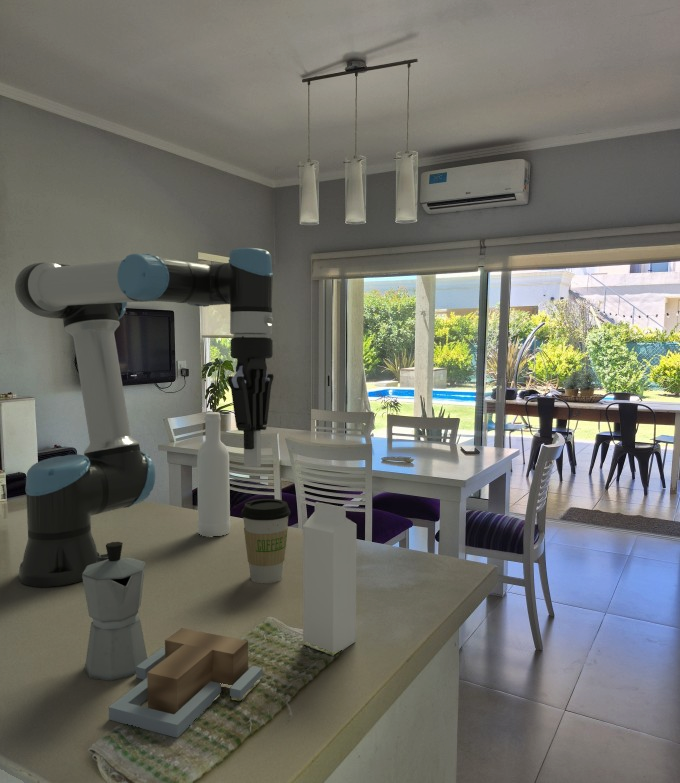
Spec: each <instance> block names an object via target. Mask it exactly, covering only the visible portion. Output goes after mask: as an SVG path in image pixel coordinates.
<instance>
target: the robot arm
mask: <svg viewBox="0 0 680 783" xmlns="http://www.w3.org/2000/svg"><path fill="white" fill-rule="evenodd" d="M272 261H273V260H272V255H271V253H270V252H269V251H268V250H266V249H262V248H255V247H240V248H235V249H232V250H230V253H229V259H228V262H226V263H215V264H211V263H202V262H196V261H195V262H194V261H188V260H181V259H173V258H170V257H169V258H168V257H163V256H156V255H154V254H152V253H130V254H128V255H126V257H125V258H124V259H118V260H111V261H110V260H109V261H101V262H100V261H98V262H91V263H90V262H89V263H81V264H73V265H71V264H63V263H55V262H35V263H32V264H29V265H27V266H25V267H23V269H21V270H20V271H19V273H18V275H17V277H16V280H15V282H14V283H15V284H14V292H15V295H16V298H17V300H18V301H19V303H20V305H21V306H22V307H23V308H24V309H26V310H27V311H29V312H30V313H32V314H34V315H36V316H39V317H43V318H47V319H48V318H49V319H62V322H63V329H64V331H65V332H66V333H67V334H69V335H70V336H72V337H73V344H74V350H75V357H76V363H77V369H78V370H77V371H78V376H79V382H80V388H81V394H82V395H81V396H82V401H83V407H84V414H85V421H86V426H87V427H86V428H87V434H88V439H89V444H88V445H87V448H86V449H85V450H84V452H83V454H67V455H63V456H62V455H59V456H54V457H53V456H52V457H49V458H45V459H42V460H40V461H38V462H36V463H34V464H32V465H31V466H30V467H29V469H27V472H26V478H25V479H26V480H25V487H24V488H25V489H24V490H25V493H26V518H27V519H26V520H27V542H26V545H25V546H26V547H25V549H24V554H23V558H22V562H21V563H20V565H19V569H18V572H19V574H18V575H19V576H18V577H19V582H21V584H24V585H26V586H31V587H39V588H41V587H42V588H45V587H46V588H49V587H60V586H66V585H71V584H75V583H79V582H83V578H82V573H83V572H84V570H85V569H86V567H87V566H88V565H91V564H94V563H96V561H97V557H98V556H100V555H101V554H100V553H99V552H98V549H97V546H96V542H95V539H94V538H93V535H92V526H91V525H92V522H91V519H92V518H91V516H95V515H98V514H103V513H107V512H111V511H116V510H119V509H122V508H123V509H124V508H129V507H132V506H134V505H137V504H139V503H142V502H144V501H145V500H147V499H148V498H149V496H150V495H151V492H152V491H153V490H154V487H155V483H156V468H155V463H154V461H153V459H152V458H151V457H150V455H149V454H148V453H146V452H144V451H143V450H141V447H140V446H141V445H140V442H139V441H137V440H136V439H135V438H133V437H132V436H131V429H130V424H129V417H128V416H129V415H128V412H127V411H128V410H127V405H126V398H125V394H124V393H125V392H124V387H123V381H122V380H123V379H122V374H121V368H120V362H119V354H118V348H117V342H116V338H115V332H116V330H117V329H118V328H119V326H120V324H121V323H120V319H121V318H122V317H123V316H124V315H125V314H126V310H127V308H126V307H127V305H128V303H136V302H140V303H143V302H145V303H147V302H149V303H150V302H164V303H165V302H169V303H177V304H178V303H179V304H187V305H190V306H193V307H203V308H206V307H209V306H221V305H229V306H230V309H229V311H230V312H229V313H230V318H229V321H230V323H229V324H230V326H229V333H230V335H233V337H231V339H230V357H231V358H232V359H236V366H235V374H234V375H230V376H228V377H227V381H228V385H229V388H230V392H231V400H232V405H233V411H234V420H235V421H234V422H235V427H236V429H237V431H240V432H243V467H248V468H259V467H261V466H262V435H261V433H262V431H266V430H267V424H268V421H269V419H268V418H269V409H270V400H271V390H272V385H273V382H274V376H275V375H274V374H273V373H268V372H267V371H268V367H267V362H266V359H271V358H273V354H274V353H273V348H274V347H273V346H274V345H273V341H274V340H273V339H272V337H271V338H270V335H272V334H273V323H274V317H273V277H274V273H273V262H272Z"/></svg>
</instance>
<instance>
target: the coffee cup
mask: <svg viewBox="0 0 680 783" xmlns="http://www.w3.org/2000/svg"><path fill="white" fill-rule="evenodd" d="M240 512H241V513H240V516H241V517H242V519H243V525H244V527H243V531H244V540H245V548H246V556H247V562H248V566H249V568H248V569H249V574H250V576H249V577H250V580H251V581H252V582H254V583H256V582H257V584H263V583H264V585H265V584H273V583H277V582H279V581H281V579H282V577H283V571H284V561H285V558H286V557H285V556H286V550H287V549H286V548H287V539H288V530H289V526H288V524H289V516H290V515H291V509H290V508H289V505H288V502H287V501H285V500H282V499H277V498H260V499H253V500H249V501H246V502H244V505H243V509H242V510H241V511H240Z"/></svg>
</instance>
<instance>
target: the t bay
mask: <svg viewBox="0 0 680 783" xmlns="http://www.w3.org/2000/svg"><path fill="white" fill-rule="evenodd" d="M164 659H165V646H164V647H161V648H159V649H158V650H157V651H155V652H154V653H153V654H151V655H150V656H149V657H147V659H146V660H144V661H143V662H142V663H140V664H139V665H138V666H136V674H135V678H137V679H140V680H142V681H140V682H139V683H138V684H136V686H134V687H133V688H131V689H130V690H129V691H128V692H126V693H125V694H124V695H122V696H121V697H119V698H118V699H117V700H116V701H114V702H113V703H112V704H111V705H109V706H108V720H110V721H112V722H117V723H121V724H123V725H124V724H125V725H127V724H128V726H131V725H133V726H132V727H135V726H136V727H135V728H138V727H140V729H143V730H146V731H149V732H152V733H157V734H162V735H164V736H165V735H166V736H169V737H173V738H175V739H176V738H177V739H178V738H179V737H180V736H182V735H183V733H184V732H185V731H186V730H188V728H189V727H190V726H191V725H193V723H194V722H195V721H196V720H197V719H199V717H200V716H201V715H202V714H203V713H204V712H203V711H204V710H205V709H206V708H207V707H208V706H209V705H210V704H211V703H212V702H213V700H214V699H215V698H216V697H217V696H218V695H219V694H220V693H221V694H222V687H221V684H220V683H216V682H212V681H210V682H209V683H208V684H207V685H206V686H205V687H204V688H203V689H202V690H200V691H199V692H198V693H197V694H196V695H195V696H194V697H193V698H192V699H191V700H190V701H188V702H187V703H186V704H185V705H184V706H183V707H182V708H181V709H180V710H179V711H178V712H176V713H175V714H170V713H166V712H162V711H158V710H154V709H150V708H148V707H147V706H141V705H143V704H144V703H145V702H146V701H148V685H147V672H149V671H150V670H151V669H152V668H154V667H155V666H156V665H158V664H159V663H160V662H162V661H163V660H164ZM261 676H262V677H263V667H259V666H254V665H252V666H251V667H249V668H248V670H247V671H246V672H245V673H244V674H243V675H242V676H241V677H240V678H239V679H238V680H237V681H236V682H235V683H234V684H233V685H232V686H231V687H230V689H229V697H230V696H231V697H235V698H238V699H239V698H240V699H241V698H242V697H243V695H244V694H245V693H246V692H247V691H248V690H249V689H250V688H251V687H252V686H253V685H254V683H255V682H256V681H257V680H258V679H259V678H260V677H261ZM201 713H202V714H201ZM200 714H201V715H200ZM198 716H199V717H198ZM196 718H197V719H196ZM195 719H196V720H195ZM194 720H195V721H194ZM193 721H194V722H193ZM189 725H190V726H189Z"/></svg>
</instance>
